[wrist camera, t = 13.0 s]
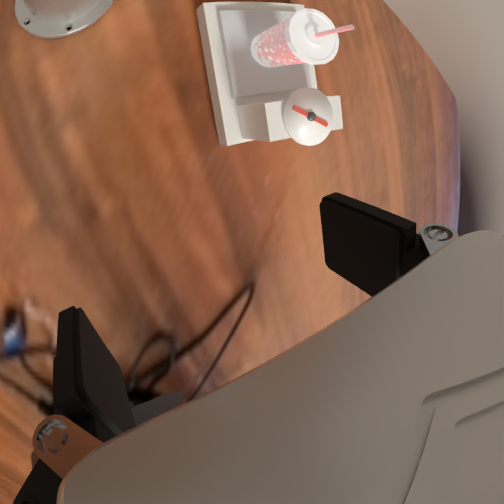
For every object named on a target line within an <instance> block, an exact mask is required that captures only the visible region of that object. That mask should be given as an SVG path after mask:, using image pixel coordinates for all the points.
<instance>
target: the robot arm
mask: <svg viewBox="0 0 504 504" xmlns="http://www.w3.org/2000/svg"><path fill="white" fill-rule="evenodd" d="M113 3H114V0H15V7H14V9H15V16H16V18H17V20H18V23H19V24H20V25H21V27H22V28H23V29H24V30H25V31H26V32H27V33H29V34H31V35H33V36H36V37H40V38H48V39H54V38H62V37H66V36H69V35H73V34H75V33H78V32H80V31H82V30H84V29H86V28H87V27H89V26H91V25H92V24H94V23H95V22H96V21H97V20H99V19H100V18H101V17H102V16H103V15H104V14H105V13H106V12H107V11H108V10H109V8H110V7H111V5H112V4H113ZM28 22H30V23H29V24H28V25H27V23H28ZM68 28H71V30H69V31H68V30H67V29H68ZM320 215H321V224H322V233H323V243H324V254H325V262H326V265H327V266H328V268H329V269H331V270H332V271H334V272H335V273H337V274H339V275H340V276H342V277H343V278H345V279H346V280H348V281H349V282H351V283H352V284H354V285H355V286H357V287H358V288H360V289H361V290H363V291H364V292H366V293H367V294H369V295H370V296H372V297H371V298H369V299H368V300H366V301H365V302H363V303H362V304H360V305H359V306H357V307H356V308H354V309H353V310H351V311H350V312H348V313H347V314H345V315H344V316H342V317H340V318H339V319H337V320H336V321H334V322H333V323H331V324H329V325H328V326H326V327H325V328H323V329H321V330H320V331H318V332H316V333H315V334H313V335H312V336H310V337H308V338H307V339H305V340H303V341H302V342H300V343H298V344H296V345H295V346H293V347H291V348H290V349H288V350H286V351H284V352H283V353H281V354H279V355H277V356H276V357H274V358H272V359H270V360H269V361H267V362H265V363H263V364H261V365H260V366H258V367H256V368H254V369H252V370H250V371H249V372H247V373H245V374H243V375H241V376H239V377H237V378H235V379H234V380H232V381H230V382H228V383H226V384H224V385H222V386H220V387H218V388H216V389H214V390H212V391H210V392H208V393H206V394H204V395H202V396H200V397H198V398H196V399H194V400H191V401H189V402H187V403H185V404H183V405H181V406H179V407H177V408H175V409H173V410H170V411H168V412H166V413H164V414H162V415H160V416H158V417H155V418H153V419H151V420H149V421H147V422H145V423H143V424H140V425H138V426H136V424H135V421H134V417H133V414H132V411H131V407H130V403H129V400H128V396H127V392H126V388H125V384H124V380H123V376H122V372H121V369H120V367H119V365H118V363H117V361H116V360H115V359H114V357H113V356H112V354H111V353H110V351H109V350H108V348H107V347H106V345H105V344H104V343H103V341H102V340H101V338H100V336H99V335H98V333H97V332H96V330H95V329H94V327H93V326H92V324H91V322H90V321H89V319H88V318H87V316H86V314H85V313H84V311H83V310H82V308H78V309H76V308H75V307H74V306H72V307H70V308H68V309H65V310H63V311H61V312H59V317H58V332H57V356H56V357H55V358H54V361H53V402H54V415H51V416H48V417H47V418H45V419H44V420H42V421H41V423H40V424H39V425H38V426H37V428H36V430H35V432H34V435H33V443H32V444H33V448H34V451H35V452H36V454H37V455H38V456H39V457H40V458H39V460H38V461H37V463H36V465H35V466H34V468H33V469H32V471H31V473H30V474H29V476H28V478H27V479H26V481H25V483H24V484H23V486H22V488H21V489H20V491H19V493H18V495H17V496H16V498H15V500H14V502H13V504H504V235H502V234H499V233H497V232H493V231H489V230H486V231H485V230H484V231H476V232H472V233H469V234H465V235H463V236H461V237H459V236H458V235H457V233H456V232H455V231H454V230H453V229H452V228H451V227H449V226H446V225H443V224H436V223H432V224H427V225H424V226H423V227H422V228H421V229H420V235H419V234H417V233H416V223H415V222H412V221H410V220H407V219H405V218H402V217H400V216H398V215H395V214H393V213H390V212H388V211H385V210H382V209H380V208H377V207H375V206H372V205H370V204H367V203H364V202H362V201H359V200H356V199H354V198H351V197H348V196H345V195H343V194H340V193H336V192H335V193H332V194H330V195H327V196H325V197H323V198H322V202H321V203H320Z"/></svg>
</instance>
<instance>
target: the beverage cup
mask: <svg viewBox="0 0 504 504" xmlns="http://www.w3.org/2000/svg"><path fill="white" fill-rule="evenodd" d="M353 29H354V26H353V25H347V26H343V27H339V28H335V27H334V25H333V23H332V21H331V20H330V19H329V18H328V17H327V16H326V15H325V14H323V13H321V12H319V11H317V10H315V9H306V8H305V9H302V10H300V11H297V12H295V13H293V14H291V16H290V17H289V18H288V19H286V20H284V21H282V22H281V23H279V24H277V25H275V26H273V27H271V28H269V29H268V30H266V31H264V32H262V33H261V34H259V35H257V36H255V38H254V39H253V41H252V43H251V53H252V56H253V57H254V59H255V61H256V62H258V63H259V64H260V65H262V66H265V67H276V66H284V65H292V64H302V63H308V64H310V65H314V64H326V63H327V62H329V61H331V60H332V59H333V58H334V57H335V55H336V53H337V52H338V46H339V39H338V34H337V33H339V32H343V31H348V30H353Z"/></svg>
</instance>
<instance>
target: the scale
mask: <svg viewBox="0 0 504 504" xmlns="http://www.w3.org/2000/svg"><path fill="white" fill-rule="evenodd" d="M302 9H304V5H299V4H288V3H273V2H208V3H202V4H201V5H200V6H199V7H198V8H197V9H196V12H197V18H198V24H199V30H200V36H201V42H202V48H203V54H204V60H205V66H206V71H207V77H208V83H209V89H210V95H211V100H212V106H213V112H214V118H215V123H216V129H217V134H218V140H219V145H224V146H229V145H234V144H238V143H242V142H247V141H252V140H260V141H267V142H272V141H277V140H282V139H287V138H292V139H293V140H294V141H295V142H297V143H299V144H302V145H307V146H312V145H316V144H319V143H320V142H322V141H323V140H324V139H325V138H326V137H327V136H328V134H329V132H330V131H332V130H338V129H343V123H342V112H341V103H340V96H325V95H324V94H323V93H322V92H321V91H319V90H317V83H316V76H315V69H314V65H310V64H308V63H302V64H292V65H284V66H276V67H265V66H262V65H260V64H259V63H258V62H256V61H255V59H254V57H253V56H252V53H251V43H252V41H253V39H254V38H255V36H257V35H259V34H261V33H262V32H264V31H266V30H268V29H269V28H271V27H273V26H275V25H277V24H279V23H281V22H282V21H284V20H286V19H288V18H289V17H290V16H291V14H293V13H295V12H297V11H300V10H302Z"/></svg>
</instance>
